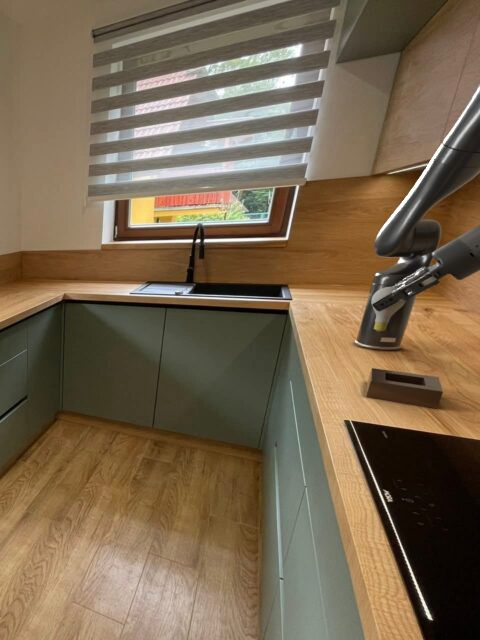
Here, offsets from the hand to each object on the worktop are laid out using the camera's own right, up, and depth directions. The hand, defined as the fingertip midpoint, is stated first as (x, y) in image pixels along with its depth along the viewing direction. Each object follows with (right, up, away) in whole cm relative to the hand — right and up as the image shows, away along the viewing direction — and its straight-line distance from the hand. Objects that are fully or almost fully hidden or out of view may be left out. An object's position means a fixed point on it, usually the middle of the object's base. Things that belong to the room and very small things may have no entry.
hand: (375, 305), depth 96 cm
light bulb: (+2, -6, +1) cm, 6 cm away
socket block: (-2, -20, -7) cm, 21 cm away
